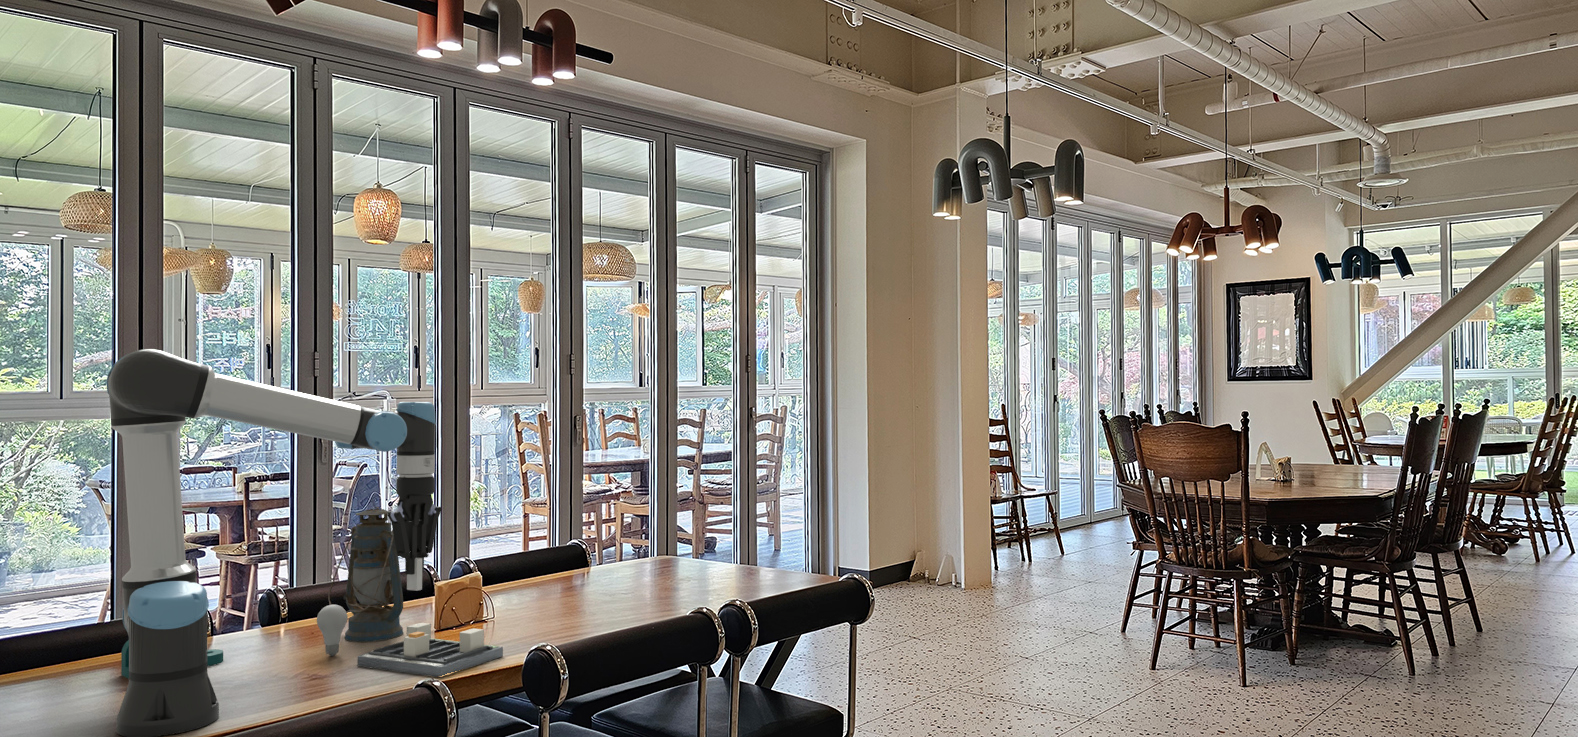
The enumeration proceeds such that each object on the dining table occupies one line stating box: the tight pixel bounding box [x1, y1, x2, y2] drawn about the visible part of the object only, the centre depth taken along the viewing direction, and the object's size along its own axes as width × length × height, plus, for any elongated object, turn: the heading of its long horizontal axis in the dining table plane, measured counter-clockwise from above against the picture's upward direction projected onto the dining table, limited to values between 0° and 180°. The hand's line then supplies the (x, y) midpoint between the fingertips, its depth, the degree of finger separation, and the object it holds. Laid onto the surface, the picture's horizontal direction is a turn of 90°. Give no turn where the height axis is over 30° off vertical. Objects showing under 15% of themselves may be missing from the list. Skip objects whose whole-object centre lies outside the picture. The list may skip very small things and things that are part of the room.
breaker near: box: [459, 628, 485, 652], centre depth 220 cm, size 4×3×4 cm
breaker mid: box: [403, 632, 429, 657], centre depth 216 cm, size 4×3×5 cm
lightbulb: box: [316, 604, 349, 657], centre depth 225 cm, size 6×6×11 cm
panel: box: [356, 637, 504, 678], centre depth 219 cm, size 18×23×3 cm
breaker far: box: [406, 622, 432, 640], centre depth 226 cm, size 4×3×4 cm
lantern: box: [327, 506, 404, 643], centre depth 243 cm, size 19×14×30 cm
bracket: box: [120, 639, 224, 680], centre depth 216 cm, size 18×7×8 cm, turn 141°
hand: (414, 589), depth 216 cm, fingers closed
